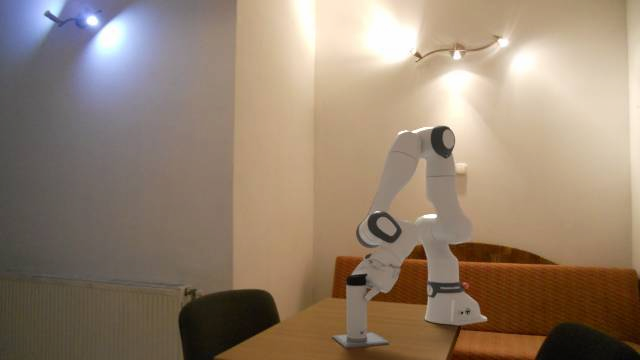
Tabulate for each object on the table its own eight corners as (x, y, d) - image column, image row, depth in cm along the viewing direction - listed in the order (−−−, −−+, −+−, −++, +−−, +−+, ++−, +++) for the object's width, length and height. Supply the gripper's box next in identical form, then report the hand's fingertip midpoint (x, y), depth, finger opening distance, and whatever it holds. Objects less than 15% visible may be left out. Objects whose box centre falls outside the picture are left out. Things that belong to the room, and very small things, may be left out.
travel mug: (367, 342, 137) (367, 275, 138) (345, 342, 137) (345, 274, 139) (368, 337, 143) (367, 272, 144) (347, 336, 144) (346, 272, 145)
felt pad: (372, 334, 149) (372, 331, 149) (389, 343, 138) (389, 341, 138) (332, 337, 145) (332, 335, 145) (345, 348, 134) (345, 345, 134)
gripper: (409, 273, 138) (382, 309, 133) (374, 267, 157) (349, 298, 152) (396, 259, 137) (368, 295, 132) (362, 254, 155) (337, 285, 151)
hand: (358, 296), depth 142 cm, fingers open, 8 cm apart
